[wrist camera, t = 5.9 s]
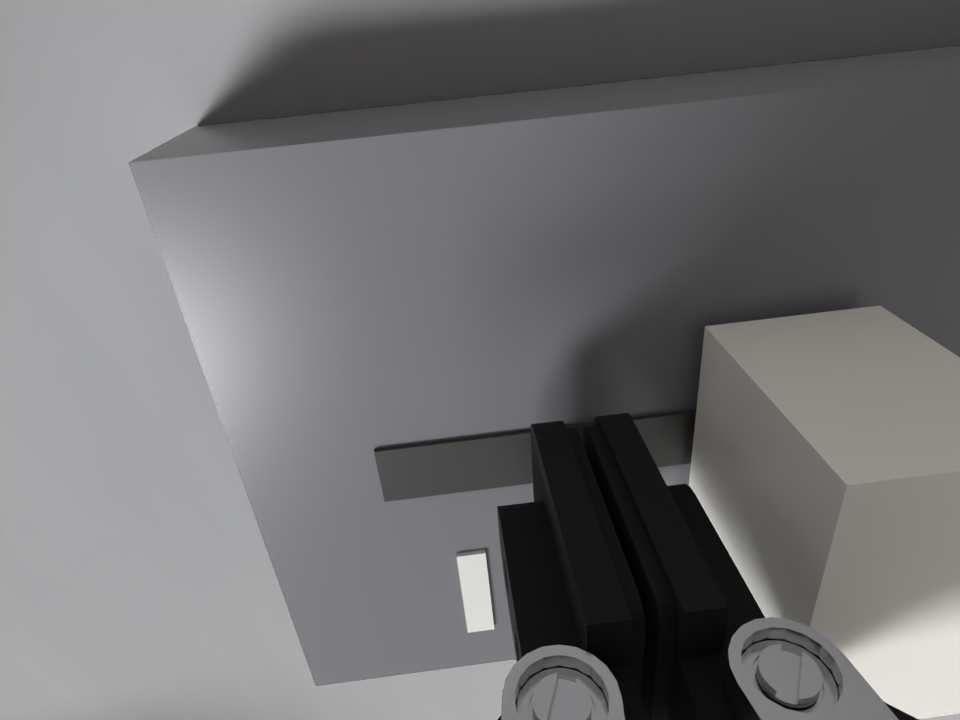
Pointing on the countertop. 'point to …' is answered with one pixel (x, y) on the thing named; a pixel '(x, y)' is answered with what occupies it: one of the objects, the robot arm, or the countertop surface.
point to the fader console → (521, 301)
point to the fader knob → (841, 487)
